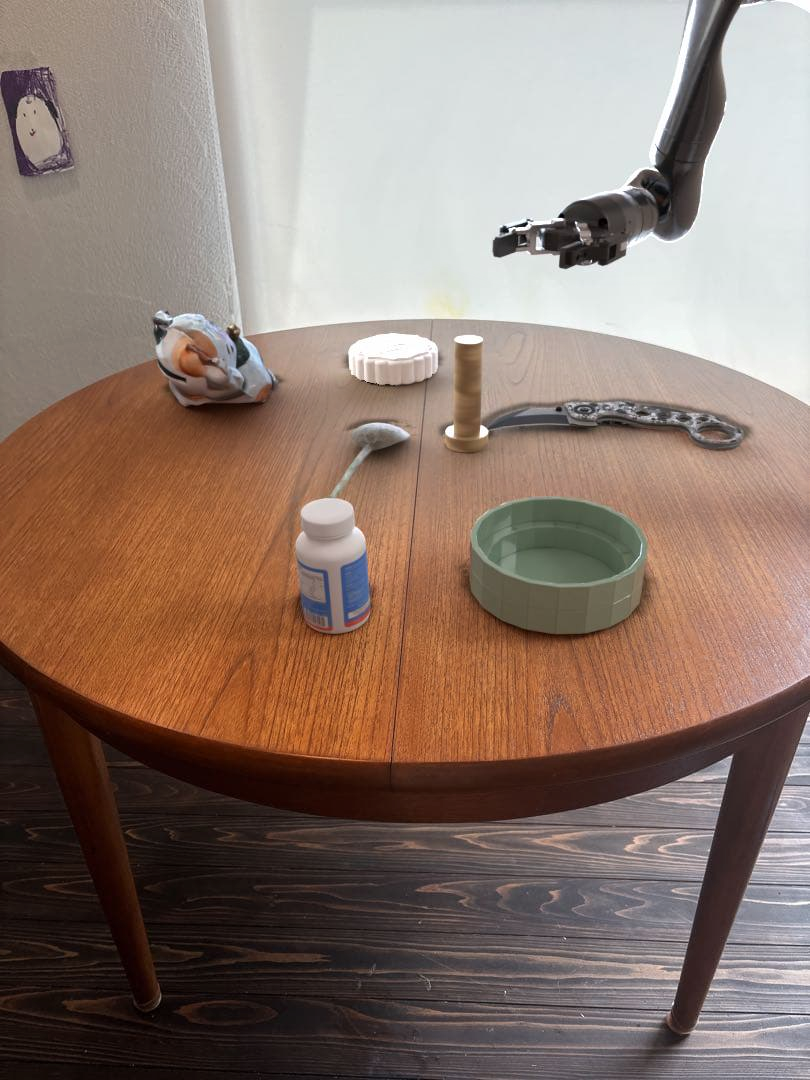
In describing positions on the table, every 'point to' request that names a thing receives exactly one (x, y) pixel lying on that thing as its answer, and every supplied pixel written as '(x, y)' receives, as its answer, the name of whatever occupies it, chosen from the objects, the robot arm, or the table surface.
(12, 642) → the table surface
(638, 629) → the table surface
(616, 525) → the bowl
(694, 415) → the knife
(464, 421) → the muddler
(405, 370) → the mooncake
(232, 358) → the lucky cat figurine
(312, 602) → the pill bottle
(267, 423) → the table surface
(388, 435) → the soupspoon
